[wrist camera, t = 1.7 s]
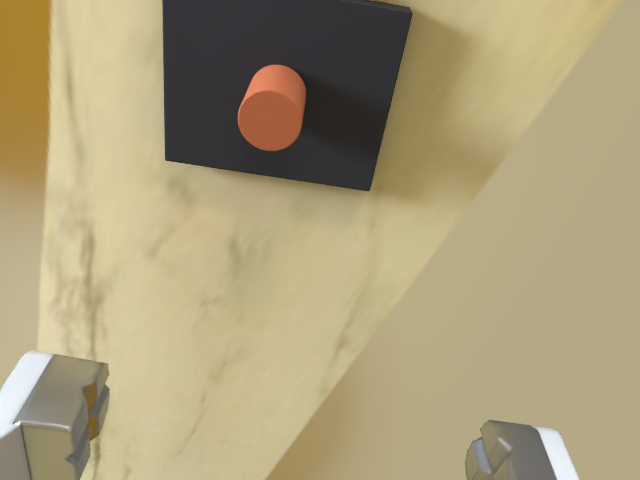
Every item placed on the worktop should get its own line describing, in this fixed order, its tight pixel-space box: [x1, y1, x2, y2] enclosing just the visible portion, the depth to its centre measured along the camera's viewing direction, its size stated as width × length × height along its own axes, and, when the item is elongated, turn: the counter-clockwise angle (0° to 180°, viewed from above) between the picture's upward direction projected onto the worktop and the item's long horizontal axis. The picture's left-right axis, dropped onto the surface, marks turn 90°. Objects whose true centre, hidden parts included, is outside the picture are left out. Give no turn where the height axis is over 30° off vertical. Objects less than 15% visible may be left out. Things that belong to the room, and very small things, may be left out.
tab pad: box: [162, 0, 413, 191], centre depth 25 cm, size 12×12×5 cm
